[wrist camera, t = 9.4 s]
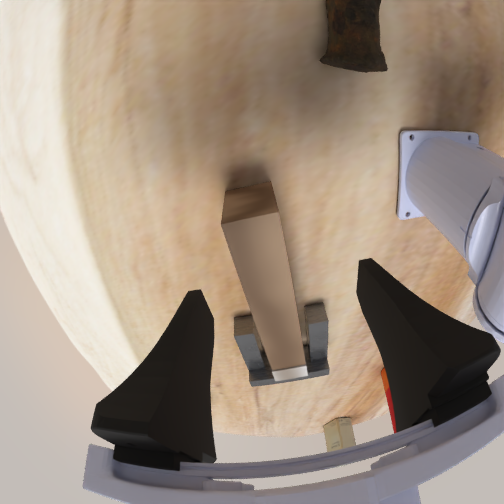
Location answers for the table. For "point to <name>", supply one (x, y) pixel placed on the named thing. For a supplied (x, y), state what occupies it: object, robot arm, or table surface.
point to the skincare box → (339, 434)
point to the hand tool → (354, 36)
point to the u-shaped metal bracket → (313, 351)
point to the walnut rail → (265, 275)
